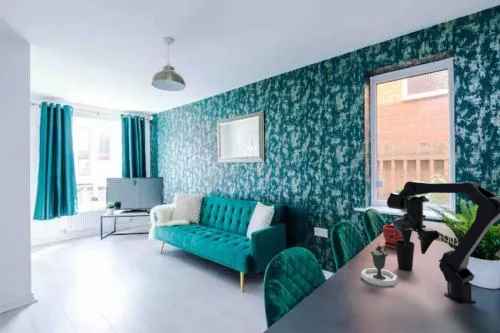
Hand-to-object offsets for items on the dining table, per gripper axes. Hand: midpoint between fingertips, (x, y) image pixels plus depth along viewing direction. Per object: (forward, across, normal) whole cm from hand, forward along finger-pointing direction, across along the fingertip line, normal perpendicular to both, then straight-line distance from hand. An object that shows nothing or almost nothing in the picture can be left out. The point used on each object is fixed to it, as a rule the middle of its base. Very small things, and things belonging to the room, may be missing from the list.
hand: (414, 250), depth 107 cm
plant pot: (+14, -45, +23) cm, 52 cm away
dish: (+13, -5, -12) cm, 19 cm away
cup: (+14, -14, +6) cm, 20 cm away
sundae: (+13, -5, -12) cm, 18 cm away
